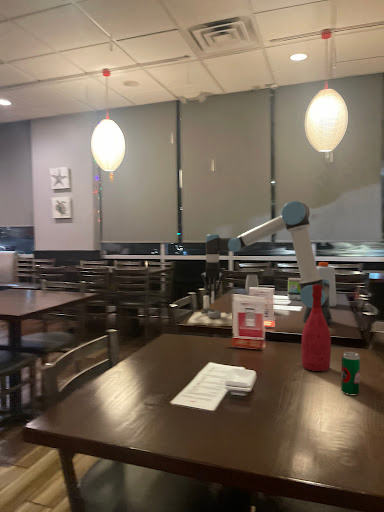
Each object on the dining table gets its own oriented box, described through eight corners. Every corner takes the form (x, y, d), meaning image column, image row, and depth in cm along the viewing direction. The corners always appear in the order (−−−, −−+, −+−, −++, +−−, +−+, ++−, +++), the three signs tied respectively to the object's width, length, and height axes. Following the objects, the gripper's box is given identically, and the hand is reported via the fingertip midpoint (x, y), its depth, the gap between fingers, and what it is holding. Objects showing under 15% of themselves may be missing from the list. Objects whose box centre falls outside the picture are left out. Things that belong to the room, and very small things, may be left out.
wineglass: (258, 307, 244) (258, 274, 242) (259, 310, 235) (259, 276, 234) (244, 307, 245) (244, 274, 243) (245, 309, 236) (245, 276, 235)
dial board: (239, 315, 219) (239, 311, 219) (237, 327, 194) (237, 321, 194) (194, 314, 224) (194, 309, 223) (187, 325, 198) (187, 320, 198)
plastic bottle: (338, 307, 244) (339, 263, 242) (314, 307, 244) (315, 263, 242) (330, 302, 259) (331, 261, 257) (307, 302, 259) (308, 261, 257)
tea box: (288, 299, 269) (288, 279, 268) (287, 297, 279) (287, 277, 278) (310, 300, 267) (311, 279, 266) (308, 298, 277) (309, 277, 276)
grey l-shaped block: (223, 317, 207) (223, 299, 206) (212, 319, 204) (212, 300, 203) (210, 312, 220) (210, 295, 219) (199, 314, 216) (199, 296, 216)
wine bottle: (330, 364, 139) (331, 283, 137) (330, 374, 130) (332, 287, 127) (301, 361, 142) (303, 282, 140) (300, 371, 133) (301, 285, 131)
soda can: (357, 397, 111) (358, 357, 111) (339, 393, 114) (340, 354, 113) (360, 391, 116) (361, 352, 115) (342, 388, 118) (343, 350, 118)
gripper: (223, 261, 220) (223, 301, 221) (200, 261, 219) (200, 301, 220) (224, 262, 212) (224, 304, 214) (201, 262, 211) (201, 304, 213)
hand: (212, 302), depth 217 cm, fingers closed
